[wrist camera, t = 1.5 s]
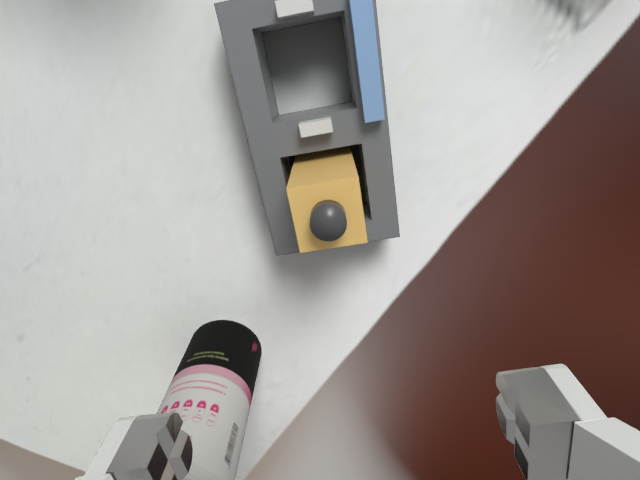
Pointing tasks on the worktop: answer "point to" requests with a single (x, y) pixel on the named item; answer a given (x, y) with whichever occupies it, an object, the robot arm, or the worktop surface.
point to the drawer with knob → (326, 200)
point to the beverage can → (215, 396)
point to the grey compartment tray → (315, 124)
